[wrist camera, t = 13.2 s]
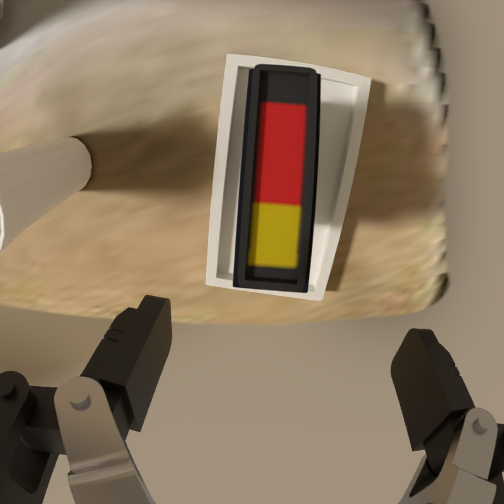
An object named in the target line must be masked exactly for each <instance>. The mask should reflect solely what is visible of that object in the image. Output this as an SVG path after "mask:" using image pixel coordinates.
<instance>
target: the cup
mask: <svg viewBox="0 0 504 504" xmlns="http://www.w3.org/2000/svg"><path fill="white" fill-rule="evenodd" d="M91 168H92V164H91V158H90V154H89V152H88V150H87V148H86V146H85V145H84V144H83V143H82V142H81V141H79V140H78V139H76V138H72V137H66V138H62V139H57V140H52V141H47V142H43V143H38V144H34V145H30V146H26V147H22V148H18V149H14V150H10V151H7V152H3V153H0V253H1V252H2V251H3V250H4V249H5V248H6V247H7V246H8V244H9V243H10V242H11V241H12V240H13V239H14V238H15V237H16V236H17V235H19V234H20V233H21V232H22V231H24V230H25V229H26V228H27V227H29V226H30V225H31V224H33V223H34V222H35V221H37V220H38V219H39V218H41V217H42V216H43V215H45V214H46V213H48V212H49V211H50V210H52V209H53V208H55V207H56V206H57V205H59V204H60V203H62V202H63V201H65V200H66V199H68V198H69V197H71V196H72V195H74V194H75V193H77V192H78V191H80V190H81V189H82V188H84V187H85V186H86V184H87V182H88V180H89V179H90V175H91Z"/></svg>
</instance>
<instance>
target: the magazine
mask: <svg viewBox="0 0 504 504" xmlns="http://www.w3.org/2000/svg"><path fill="white" fill-rule="evenodd" d="M320 108H321V74H318V73H317V72H316V70H315V69H313V68H310V67H300V66H288V65H274V64H258V65H255V67H254V69H249V74H248V85H247V97H246V108H245V120H244V132H243V144H242V157H241V170H240V183H239V196H238V210H237V224H236V239H235V254H234V270H233V287H235V288H246V289H258V290H270V291H283V292H296V293H307V292H308V286H309V277H310V267H311V257H312V246H313V235H314V223H315V210H316V196H317V180H318V162H319V140H320Z"/></svg>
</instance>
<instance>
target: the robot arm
mask: <svg viewBox="0 0 504 504" xmlns="http://www.w3.org/2000/svg"><path fill="white" fill-rule="evenodd" d="M3 6H4V2H3V0H0V20H1V17H2V13H3ZM171 342H172V326H171V305H170V300H169V299H167V298H162V297H156V296H151V295H146V296H145V297H144V298H143V300H142V302H141V303H140V305H139V307H138V308H137V309H135V308H130V307H129V308H127V309H126V310H124V311H123V312H122V313H120V314H119V315H117V316H116V318H115V319H114V321H113V323H112V324H111V326H110V328H109V330H108V331H107V332H106V334H105V335H104V339H102V340H101V342H100V344H99V345H98V347H97V349H96V350H95V352H94V354H93V355H92V357H91V359H90V360H89V362H88V364H87V366H86V367H85V369H84V371H83V372H82V374H81V375H80V376H79V377H74V378H71V379H68V380H66V381H65V382H63V383H62V384H61V385H60V386H59V387H58V388H57V387H54V388H53V387H40V386H30V385H29V383H28V382H27V380H26V378H25V377H24V376H23V375H22V374H20V373H18V372H15V371H7V372H3V373H1V374H0V504H42V502H43V499H44V496H45V493H46V490H47V487H48V484H49V481H50V478H51V475H52V472H53V469H54V467H55V464H56V461H57V458H58V456H59V454H63V455H67V458H68V461H69V465H70V472H69V473H68V483H69V486H70V489H71V493H72V495H73V498H74V501H75V504H156V503H155V502H154V500H153V498H152V497H151V495H150V493H149V491H148V489H147V487H146V485H145V483H144V481H143V479H142V477H141V475H140V473H139V471H138V469H137V467H136V464H135V462H134V460H133V458H132V456H131V454H130V451H129V449H128V447H127V444H126V442H125V440H126V437H127V434H128V432H129V429H131V430H134V431H138V432H140V431H141V429H142V426H143V423H144V420H145V417H146V414H147V411H148V408H149V406H150V403H151V400H152V397H153V394H154V392H155V389H156V386H157V384H158V381H159V378H160V375H161V373H162V370H163V367H164V365H165V362H166V359H167V357H168V354H169V351H170V347H171ZM459 374H460V373H459V371H458V369H457V367H455V363H454V361H453V359H452V357H451V355H450V353H449V352H448V351H447V350H446V349H445V348H444V347H443V346H442V345H441V344H439V342H438V340H437V338H436V336H435V335H434V333H433V331H432V330H430V329H415V328H413V329H410V330H409V331H408V333H407V334H406V336H405V338H404V340H403V342H402V344H401V346H400V348H399V350H398V351H397V353H396V355H395V357H394V359H393V361H392V365H391V377H392V380H393V383H394V386H395V389H396V393H397V396H398V400H399V403H400V407H401V410H402V413H403V417H404V421H405V425H406V428H407V432H408V436H409V440H410V444H411V448H412V451H418V450H424V449H425V451H426V454H425V455H424V456H423V458H422V459H421V461H420V463H419V465H418V467H417V470H416V472H415V474H414V476H413V478H412V480H411V482H410V484H409V486H408V488H407V490H406V492H405V493H404V495H403V497H402V499H401V501H400V502H399V503H398V504H504V481H503V477H502V472H504V424H497V423H496V421H495V419H494V417H493V416H492V415H491V414H490V413H489V412H488V411H486V410H485V409H482V408H475V405H474V403H473V401H472V399H471V396H470V394H469V392H468V390H467V388H466V385H465V383H464V381H463V379H462V377H461V376H460V375H459Z"/></svg>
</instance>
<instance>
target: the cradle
mask: <svg viewBox="0 0 504 504" xmlns="http://www.w3.org/2000/svg"><path fill="white" fill-rule="evenodd" d="M258 64H274V65H288V66H300V67H310V68H313V69H315V70H316V72H317V73H318V74H321V108H320V140H319V162H318V180H317V196H316V210H315V223H314V235H313V246H312V257H311V267H310V277H309V286H308V292H307V293H296V292H283V291H270V290H258V289H246V288H235V287H233V270H234V254H235V239H236V224H237V210H238V196H239V183H240V170H241V157H242V144H243V132H244V120H245V108H246V97H247V85H248V74H249V69H254V67H255V65H258ZM370 85H371V78H369V77H365V76H362V75H358V74H354V73H350V72H346V71H341V70H337V69H333V68H328V67H323V66H318V65H313V64H307V63H301V62H295V61H289V60H282V59H275V58H267V57H258V56H248V55H236V54H227V59H226V66H225V74H224V82H223V90H222V98H221V107H220V116H219V125H218V134H217V144H216V154H215V164H214V175H213V186H212V198H211V211H210V224H209V238H208V253H207V270H206V285H210V286H217V287H223V288H230V289H236V290H243V291H250V292H257V293H264V294H271V295H279V296H286V297H294V298H301V299H309V300H317V301H322V299H323V296H324V292H325V289H326V285H327V282H328V278H329V275H330V271H331V268H332V264H333V260H334V257H335V253H336V249H337V245H338V242H339V238H340V234H341V230H342V226H343V222H344V218H345V214H346V209H347V205H348V201H349V197H350V192H351V188H352V183H353V179H354V174H355V169H356V164H357V159H358V154H359V149H360V144H361V139H362V134H363V128H364V122H365V117H366V111H367V105H368V98H369V92H370Z"/></svg>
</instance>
